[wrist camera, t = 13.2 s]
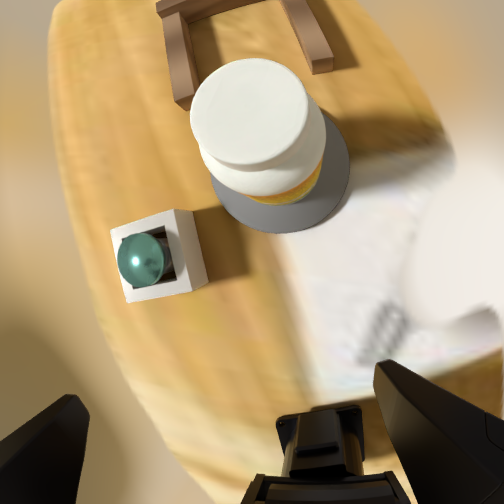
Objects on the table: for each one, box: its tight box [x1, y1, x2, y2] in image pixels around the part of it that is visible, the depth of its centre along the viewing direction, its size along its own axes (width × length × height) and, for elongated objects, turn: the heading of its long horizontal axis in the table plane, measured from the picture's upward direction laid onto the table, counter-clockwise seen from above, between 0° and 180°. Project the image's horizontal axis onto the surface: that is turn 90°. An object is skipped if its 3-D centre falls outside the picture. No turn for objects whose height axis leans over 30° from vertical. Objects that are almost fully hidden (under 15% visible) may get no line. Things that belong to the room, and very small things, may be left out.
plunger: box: [117, 233, 175, 287], centre depth 18 cm, size 3×3×4 cm
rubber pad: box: [210, 112, 350, 234], centre depth 18 cm, size 9×9×1 cm
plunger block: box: [110, 209, 209, 303], centre depth 19 cm, size 5×5×3 cm
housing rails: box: [156, 0, 334, 111], centre depth 17 cm, size 10×11×3 cm
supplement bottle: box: [190, 58, 326, 206], centre depth 13 cm, size 5×5×10 cm
